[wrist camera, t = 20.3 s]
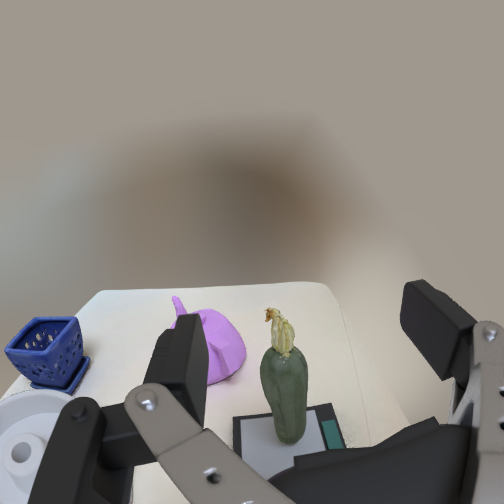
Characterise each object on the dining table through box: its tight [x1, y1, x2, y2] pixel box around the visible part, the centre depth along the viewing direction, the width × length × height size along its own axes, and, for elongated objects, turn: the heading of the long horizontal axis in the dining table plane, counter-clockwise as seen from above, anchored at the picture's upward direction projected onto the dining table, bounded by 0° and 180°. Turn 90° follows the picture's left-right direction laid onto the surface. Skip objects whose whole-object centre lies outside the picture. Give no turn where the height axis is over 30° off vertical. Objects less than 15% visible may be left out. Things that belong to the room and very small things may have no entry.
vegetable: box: [260, 308, 308, 444], centre depth 27 cm, size 4×4×20 cm
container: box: [0, 389, 132, 504], centre depth 22 cm, size 25×25×10 cm
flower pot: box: [4, 316, 90, 395], centre depth 45 cm, size 13×13×12 cm
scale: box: [233, 403, 346, 480], centre depth 31 cm, size 14×13×4 cm
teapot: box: [171, 296, 246, 385], centre depth 50 cm, size 13×20×11 cm, turn 38°
